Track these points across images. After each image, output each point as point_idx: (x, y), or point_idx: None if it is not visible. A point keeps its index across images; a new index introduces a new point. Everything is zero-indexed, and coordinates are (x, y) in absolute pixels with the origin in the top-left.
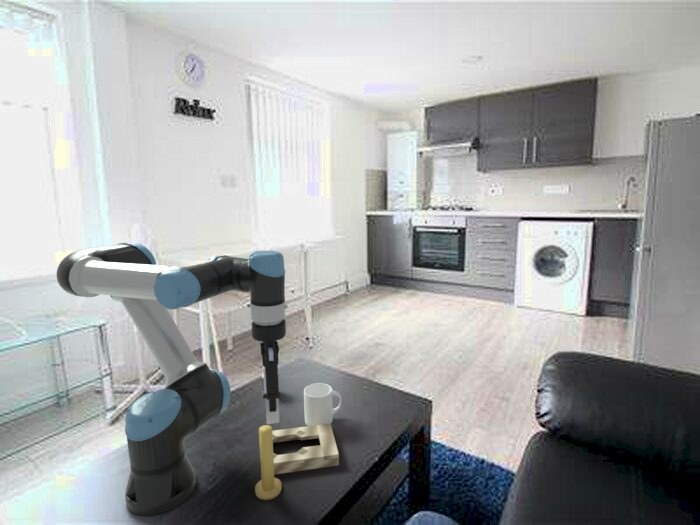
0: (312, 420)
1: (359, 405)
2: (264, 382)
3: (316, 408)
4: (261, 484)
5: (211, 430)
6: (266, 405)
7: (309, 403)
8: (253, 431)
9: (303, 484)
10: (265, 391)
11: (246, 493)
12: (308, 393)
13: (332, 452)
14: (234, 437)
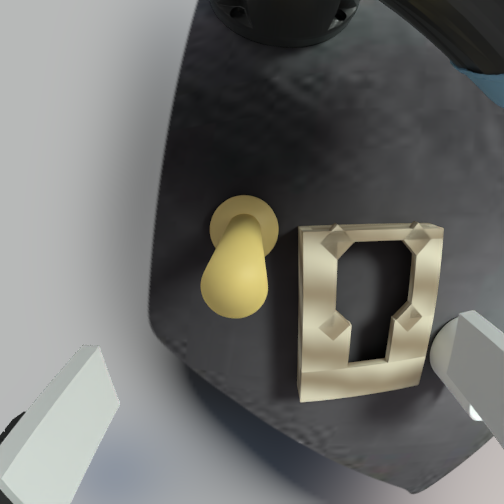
0: (447, 343)
1: (462, 415)
2: (500, 356)
3: None
4: (253, 211)
5: None
6: (20, 423)
7: None
8: (469, 184)
9: None
10: (462, 325)
11: (241, 172)
12: None
13: (310, 390)
14: (455, 135)
